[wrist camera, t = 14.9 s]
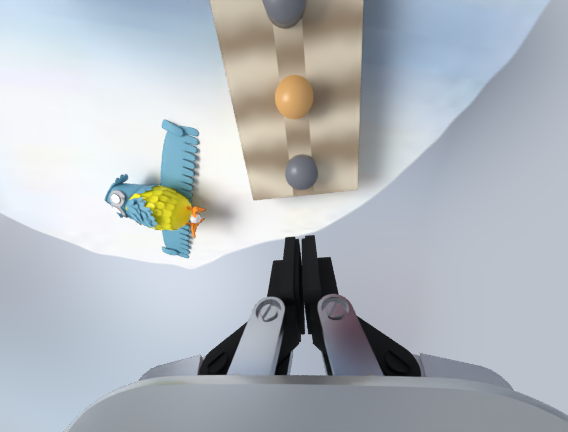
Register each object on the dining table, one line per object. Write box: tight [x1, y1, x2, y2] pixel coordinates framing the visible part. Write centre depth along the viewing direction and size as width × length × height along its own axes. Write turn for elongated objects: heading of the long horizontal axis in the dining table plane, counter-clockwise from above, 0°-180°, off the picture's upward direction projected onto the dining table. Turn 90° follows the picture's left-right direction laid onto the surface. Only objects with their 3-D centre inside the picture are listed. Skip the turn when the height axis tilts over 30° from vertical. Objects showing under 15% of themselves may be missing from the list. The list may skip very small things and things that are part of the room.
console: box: [210, 0, 363, 200], centre depth 28 cm, size 26×16×5 cm, turn 8°
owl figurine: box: [105, 120, 205, 258], centre depth 36 cm, size 28×9×15 cm
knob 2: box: [285, 154, 318, 190], centre depth 30 cm, size 4×4×6 cm
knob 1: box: [262, 0, 306, 29], centre depth 22 cm, size 4×4×6 cm
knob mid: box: [275, 75, 313, 119], centre depth 26 cm, size 4×4×6 cm
